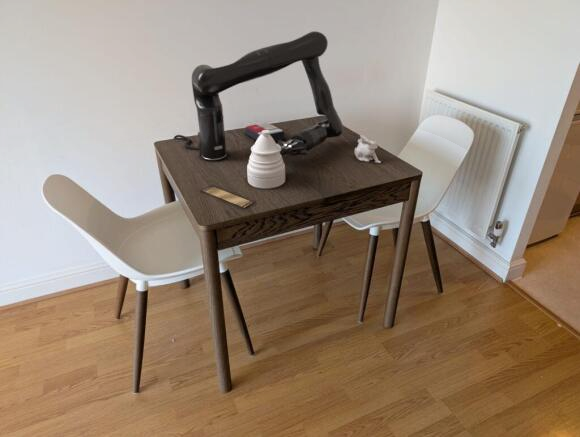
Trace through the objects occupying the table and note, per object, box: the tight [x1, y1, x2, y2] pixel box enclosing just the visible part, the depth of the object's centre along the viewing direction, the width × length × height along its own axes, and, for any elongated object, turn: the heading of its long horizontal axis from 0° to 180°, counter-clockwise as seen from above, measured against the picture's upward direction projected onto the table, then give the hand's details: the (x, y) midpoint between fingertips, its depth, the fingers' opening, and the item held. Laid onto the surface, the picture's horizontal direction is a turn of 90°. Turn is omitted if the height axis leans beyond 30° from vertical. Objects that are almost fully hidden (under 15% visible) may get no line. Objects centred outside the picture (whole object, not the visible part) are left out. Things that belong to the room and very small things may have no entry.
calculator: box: [244, 122, 285, 143], centre depth 180 cm, size 11×4×15 cm
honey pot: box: [246, 130, 286, 189], centre depth 141 cm, size 13×13×18 cm
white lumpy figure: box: [354, 134, 382, 164], centre depth 158 cm, size 12×8×10 cm, turn 32°
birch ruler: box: [203, 185, 254, 209], centre depth 135 cm, size 18×4×1 cm, turn 53°
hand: (276, 154), depth 146 cm, fingers closed
